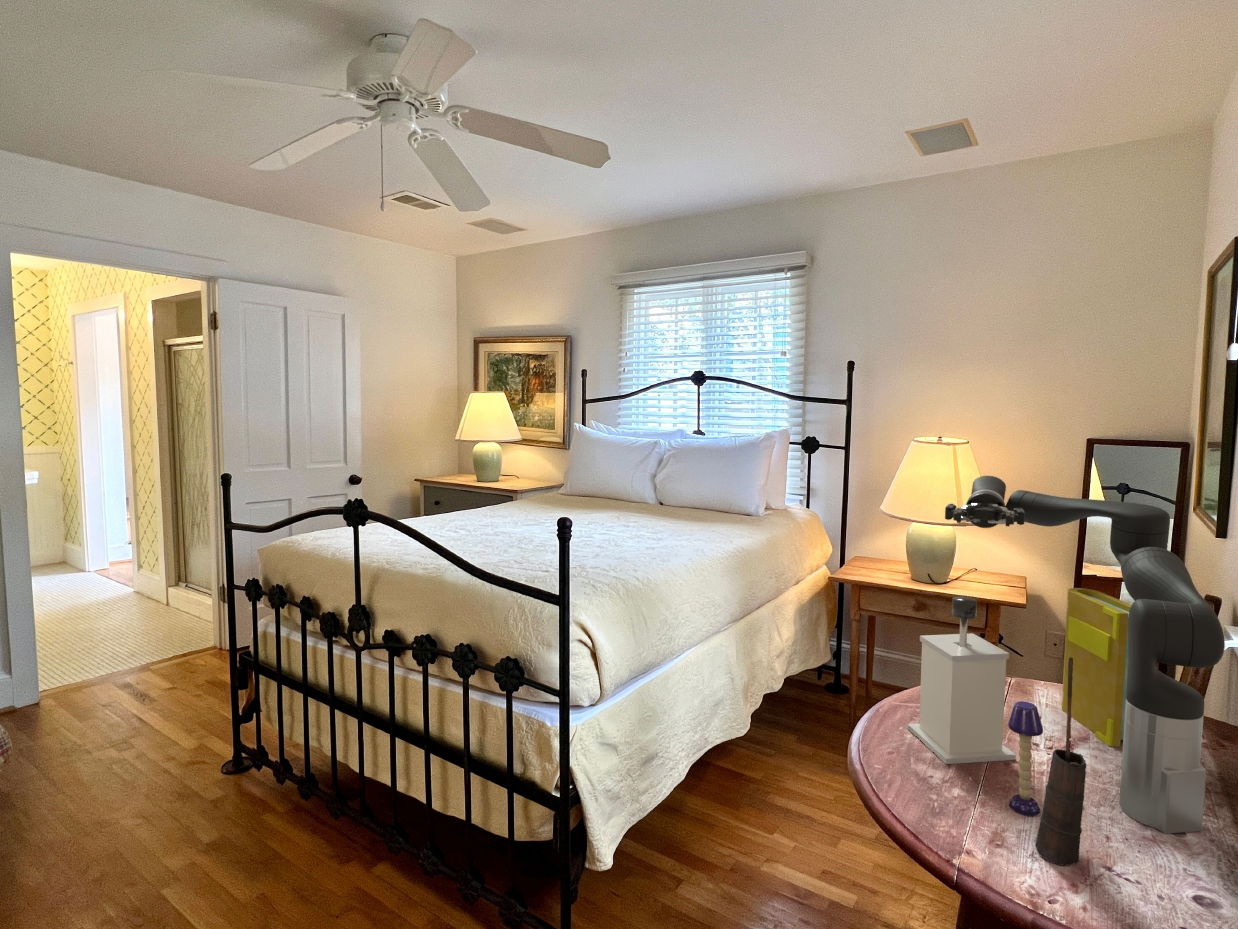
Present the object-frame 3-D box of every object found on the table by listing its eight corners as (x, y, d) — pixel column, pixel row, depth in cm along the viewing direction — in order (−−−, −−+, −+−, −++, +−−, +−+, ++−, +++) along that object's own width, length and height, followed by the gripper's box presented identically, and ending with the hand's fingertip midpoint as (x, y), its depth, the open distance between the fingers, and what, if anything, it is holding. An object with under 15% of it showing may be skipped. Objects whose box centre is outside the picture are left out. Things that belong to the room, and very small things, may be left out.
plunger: (993, 745, 124) (999, 605, 121) (951, 748, 123) (956, 606, 120) (966, 724, 131) (972, 592, 129) (927, 727, 131) (931, 594, 128)
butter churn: (1103, 893, 89) (1115, 683, 86) (1018, 865, 94) (1027, 667, 91) (1102, 854, 96) (1114, 660, 94) (1024, 830, 102) (1033, 646, 99)
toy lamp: (1005, 811, 106) (1009, 707, 105) (1004, 796, 110) (1008, 696, 109) (1041, 819, 104) (1046, 714, 103) (1039, 804, 108) (1044, 701, 107)
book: (1146, 746, 126) (1155, 613, 123) (1109, 746, 126) (1117, 613, 124) (1086, 705, 143) (1092, 588, 140) (1053, 705, 143) (1059, 588, 140)
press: (1015, 759, 121) (1020, 655, 120) (945, 764, 120) (949, 659, 118) (971, 725, 134) (974, 631, 133) (907, 729, 133) (910, 633, 131)
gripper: (949, 488, 152) (943, 498, 138) (1024, 492, 145) (1025, 502, 131) (948, 522, 153) (942, 535, 139) (1022, 527, 146) (1024, 541, 132)
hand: (983, 519), depth 135 cm, fingers open, 8 cm apart
